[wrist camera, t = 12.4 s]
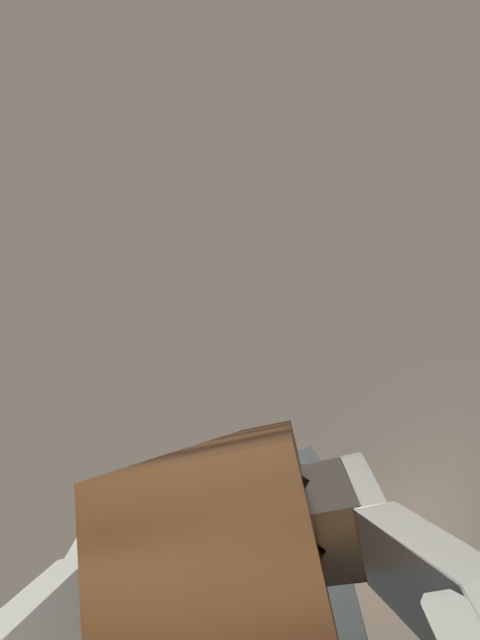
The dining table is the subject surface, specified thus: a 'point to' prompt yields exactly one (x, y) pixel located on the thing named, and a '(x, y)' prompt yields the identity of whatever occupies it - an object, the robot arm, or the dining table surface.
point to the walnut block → (203, 546)
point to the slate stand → (341, 589)
